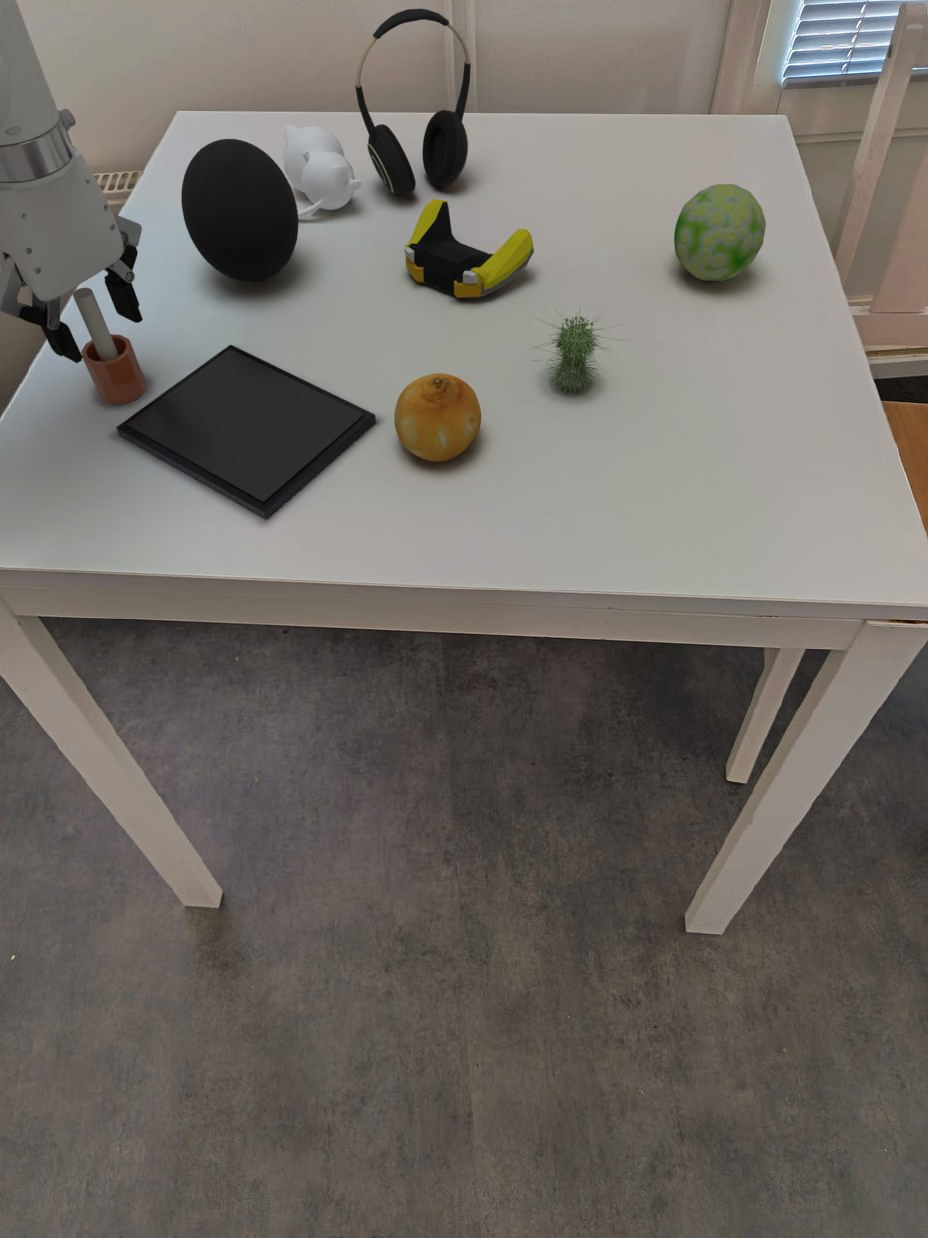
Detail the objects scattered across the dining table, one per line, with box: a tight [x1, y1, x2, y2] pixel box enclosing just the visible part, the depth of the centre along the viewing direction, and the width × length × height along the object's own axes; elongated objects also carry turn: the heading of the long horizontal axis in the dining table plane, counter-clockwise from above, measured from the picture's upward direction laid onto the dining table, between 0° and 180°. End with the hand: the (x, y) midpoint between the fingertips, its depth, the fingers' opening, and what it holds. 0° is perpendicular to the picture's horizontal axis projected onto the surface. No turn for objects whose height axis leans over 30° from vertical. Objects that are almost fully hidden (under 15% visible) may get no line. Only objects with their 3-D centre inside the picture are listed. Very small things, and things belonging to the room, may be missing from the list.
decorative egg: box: [180, 138, 299, 283], centre depth 94 cm, size 12×12×15 cm
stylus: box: [72, 287, 119, 362], centre depth 83 cm, size 2×2×11 cm
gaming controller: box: [403, 198, 535, 299], centre depth 97 cm, size 15×6×10 cm
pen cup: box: [80, 333, 148, 405], centre depth 86 cm, size 5×5×5 cm
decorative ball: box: [673, 183, 767, 282], centre depth 95 cm, size 10×10×10 cm
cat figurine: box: [282, 124, 363, 221], centre depth 107 cm, size 9×11×12 cm
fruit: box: [393, 372, 482, 462], centre depth 80 cm, size 8×8×8 cm
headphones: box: [354, 8, 472, 197], centre depth 103 cm, size 9×15×20 cm, turn 115°
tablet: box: [115, 344, 377, 520], centre depth 84 cm, size 16×20×1 cm
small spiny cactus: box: [520, 306, 633, 395], centre depth 84 cm, size 12×12×8 cm
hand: (100, 335), depth 83 cm, fingers open, 6 cm apart
